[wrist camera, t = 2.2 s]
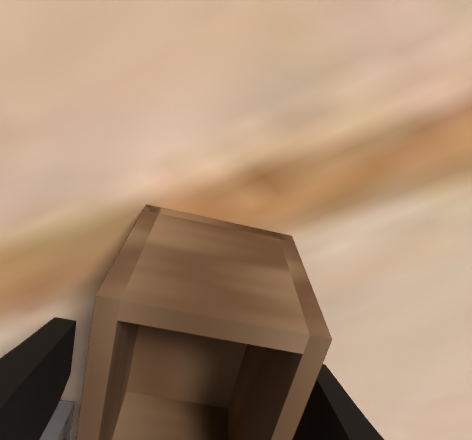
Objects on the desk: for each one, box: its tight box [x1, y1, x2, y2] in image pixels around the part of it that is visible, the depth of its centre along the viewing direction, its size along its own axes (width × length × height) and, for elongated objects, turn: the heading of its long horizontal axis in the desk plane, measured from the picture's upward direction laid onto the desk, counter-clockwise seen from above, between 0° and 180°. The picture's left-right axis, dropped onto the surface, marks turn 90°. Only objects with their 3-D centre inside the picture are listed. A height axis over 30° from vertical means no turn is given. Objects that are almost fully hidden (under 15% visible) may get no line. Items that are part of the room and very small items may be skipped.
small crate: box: [76, 205, 332, 440], centre depth 12 cm, size 5×8×6 cm, turn 166°
